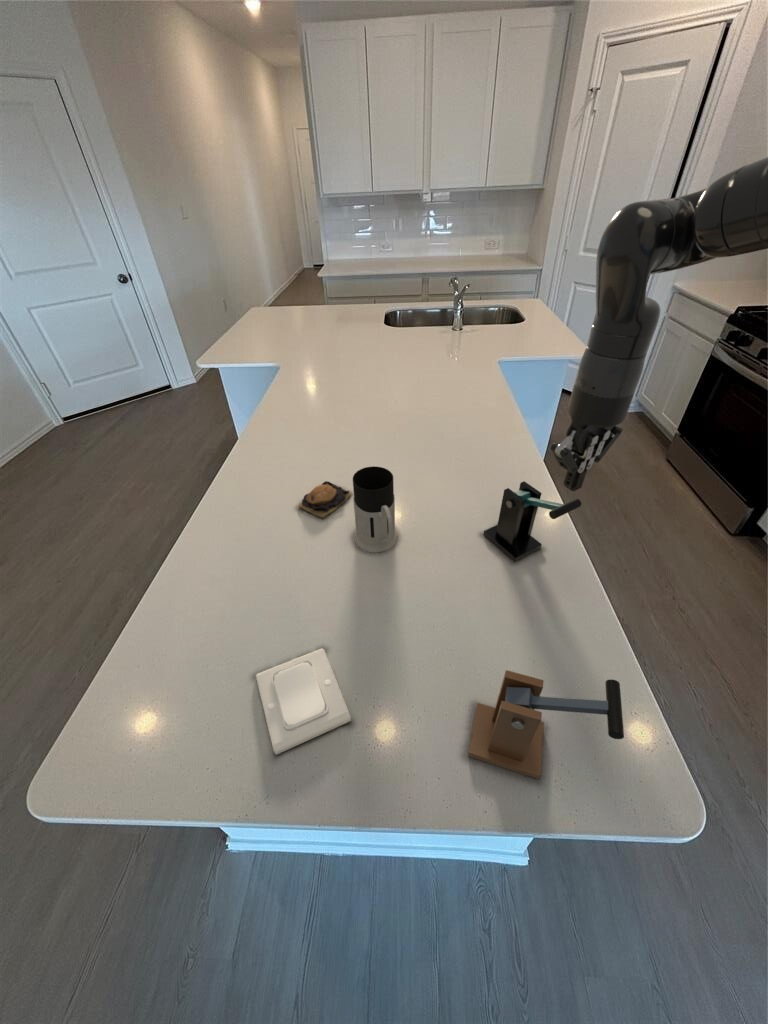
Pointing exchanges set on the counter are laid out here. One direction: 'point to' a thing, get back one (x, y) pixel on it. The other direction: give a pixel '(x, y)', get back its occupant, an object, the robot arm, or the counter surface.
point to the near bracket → (510, 730)
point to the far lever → (549, 504)
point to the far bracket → (515, 525)
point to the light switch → (301, 700)
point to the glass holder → (374, 509)
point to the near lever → (576, 705)
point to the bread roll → (324, 499)
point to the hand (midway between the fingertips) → (572, 487)
